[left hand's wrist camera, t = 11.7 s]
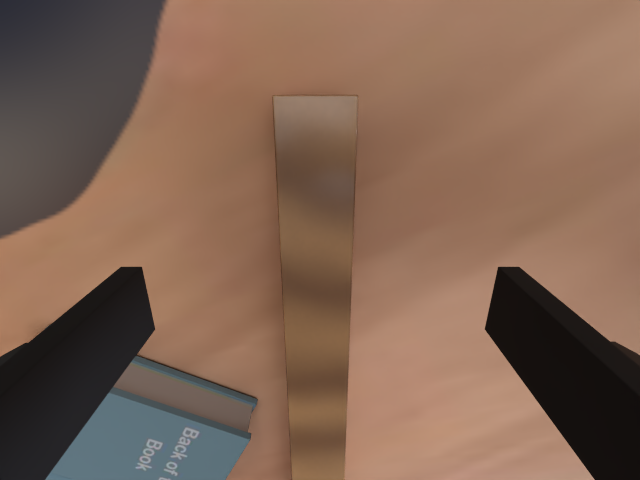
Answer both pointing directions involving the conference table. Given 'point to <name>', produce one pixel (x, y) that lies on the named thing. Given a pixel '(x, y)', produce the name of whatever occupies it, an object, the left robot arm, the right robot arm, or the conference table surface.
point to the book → (160, 429)
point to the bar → (316, 271)
